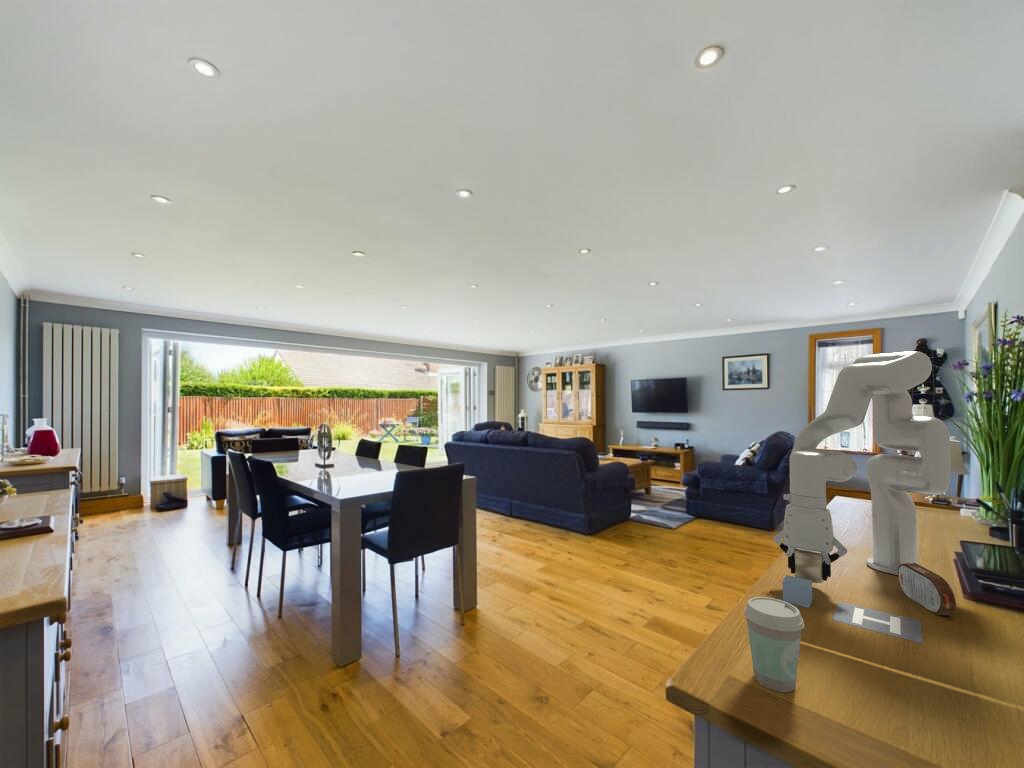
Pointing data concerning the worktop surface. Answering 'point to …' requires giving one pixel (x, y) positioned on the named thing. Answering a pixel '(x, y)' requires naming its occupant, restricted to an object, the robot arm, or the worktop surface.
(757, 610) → the coffee cup
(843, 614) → the letter card
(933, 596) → the tin
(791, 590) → the blue cube
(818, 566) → the beige streaked cube
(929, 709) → the worktop surface
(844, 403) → the robot arm
